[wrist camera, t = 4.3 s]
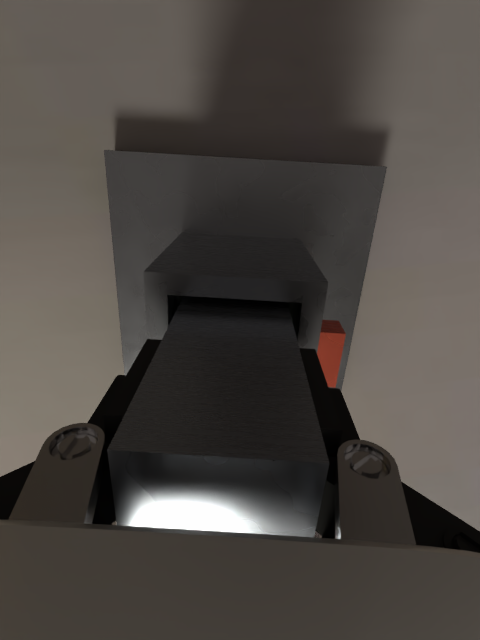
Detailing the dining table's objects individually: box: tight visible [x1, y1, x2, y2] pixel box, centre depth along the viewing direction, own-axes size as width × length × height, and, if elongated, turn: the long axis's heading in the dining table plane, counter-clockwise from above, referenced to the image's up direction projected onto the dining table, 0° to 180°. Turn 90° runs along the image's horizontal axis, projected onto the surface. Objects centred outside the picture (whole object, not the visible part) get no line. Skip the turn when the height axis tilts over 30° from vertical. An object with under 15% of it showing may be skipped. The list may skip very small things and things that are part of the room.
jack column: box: [107, 296, 329, 537], centre depth 14 cm, size 4×4×14 cm
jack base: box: [104, 150, 387, 391], centre depth 18 cm, size 14×14×9 cm
